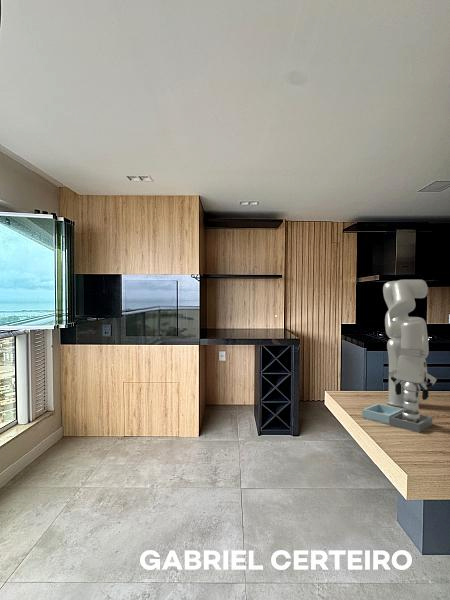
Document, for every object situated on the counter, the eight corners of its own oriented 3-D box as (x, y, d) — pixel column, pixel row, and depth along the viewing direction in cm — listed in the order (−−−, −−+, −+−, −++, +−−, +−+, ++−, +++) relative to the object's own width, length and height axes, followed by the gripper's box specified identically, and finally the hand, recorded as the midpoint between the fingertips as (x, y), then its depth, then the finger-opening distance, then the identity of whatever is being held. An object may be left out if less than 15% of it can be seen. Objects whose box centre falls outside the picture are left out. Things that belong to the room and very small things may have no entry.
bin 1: (377, 411, 156) (377, 403, 156) (403, 417, 148) (403, 409, 148) (362, 417, 146) (362, 409, 146) (389, 424, 138) (389, 416, 138)
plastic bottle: (418, 423, 141) (418, 373, 141) (421, 428, 135) (422, 376, 135) (400, 421, 143) (401, 371, 143) (403, 426, 137) (403, 375, 137)
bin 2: (403, 417, 148) (403, 410, 148) (432, 424, 139) (432, 416, 139) (389, 424, 138) (389, 417, 138) (419, 432, 130) (419, 424, 130)
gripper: (439, 354, 135) (439, 399, 134) (393, 350, 148) (392, 391, 147) (432, 356, 130) (432, 402, 129) (385, 351, 143) (385, 394, 142)
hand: (411, 396), depth 138 cm, fingers open, 9 cm apart
